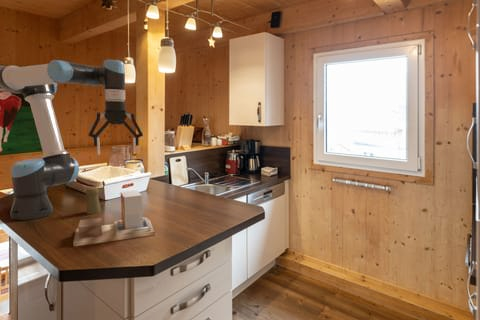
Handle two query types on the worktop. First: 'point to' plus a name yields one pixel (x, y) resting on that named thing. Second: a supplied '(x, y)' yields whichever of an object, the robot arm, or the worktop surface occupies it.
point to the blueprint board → (108, 231)
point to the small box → (131, 210)
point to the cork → (93, 201)
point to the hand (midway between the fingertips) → (117, 154)
